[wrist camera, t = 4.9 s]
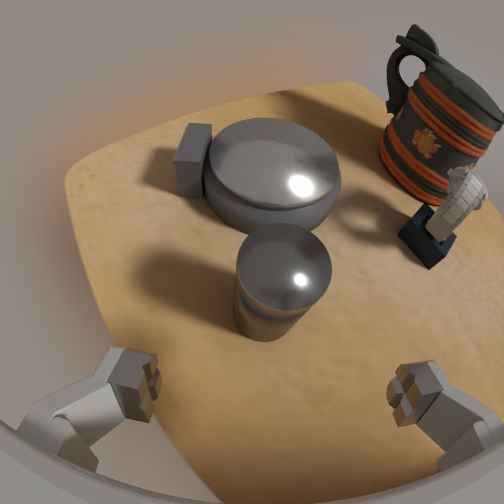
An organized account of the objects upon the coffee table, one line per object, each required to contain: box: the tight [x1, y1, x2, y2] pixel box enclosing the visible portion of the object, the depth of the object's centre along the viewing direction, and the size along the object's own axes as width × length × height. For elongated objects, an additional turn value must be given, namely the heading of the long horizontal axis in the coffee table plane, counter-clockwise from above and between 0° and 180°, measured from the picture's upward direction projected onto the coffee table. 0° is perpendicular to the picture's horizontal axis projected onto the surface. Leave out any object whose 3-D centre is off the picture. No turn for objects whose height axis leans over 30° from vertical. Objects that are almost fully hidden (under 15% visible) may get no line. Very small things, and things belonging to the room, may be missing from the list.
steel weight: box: [233, 223, 332, 342], centre depth 18 cm, size 5×5×9 cm
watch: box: [397, 167, 488, 270], centre depth 22 cm, size 6×8×11 cm
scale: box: [173, 123, 341, 234], centre depth 27 cm, size 14×16×5 cm
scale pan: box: [209, 118, 339, 210], centre depth 25 cm, size 13×13×1 cm
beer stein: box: [379, 24, 504, 206], centre depth 26 cm, size 19×15×20 cm
